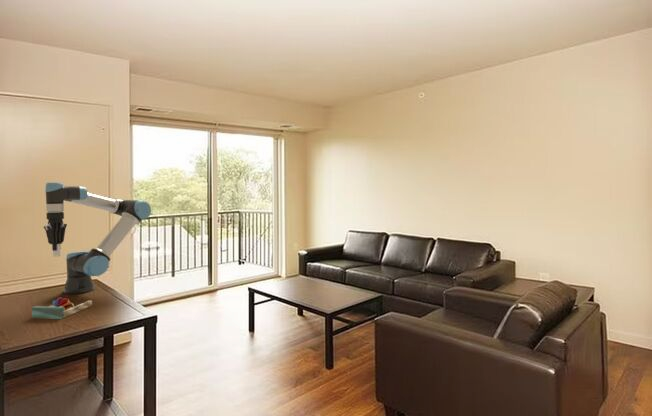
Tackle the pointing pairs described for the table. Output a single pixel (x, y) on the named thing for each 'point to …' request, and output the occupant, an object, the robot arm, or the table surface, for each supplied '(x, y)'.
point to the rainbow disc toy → (62, 303)
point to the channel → (57, 311)
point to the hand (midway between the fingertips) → (56, 256)
